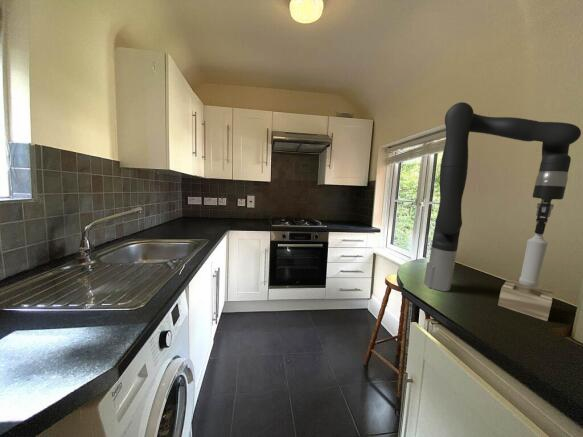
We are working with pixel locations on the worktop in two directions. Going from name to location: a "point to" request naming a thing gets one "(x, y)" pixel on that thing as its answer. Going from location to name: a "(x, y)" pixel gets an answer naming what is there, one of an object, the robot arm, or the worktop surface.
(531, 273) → the bottle
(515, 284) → the socket holder
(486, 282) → the worktop surface
